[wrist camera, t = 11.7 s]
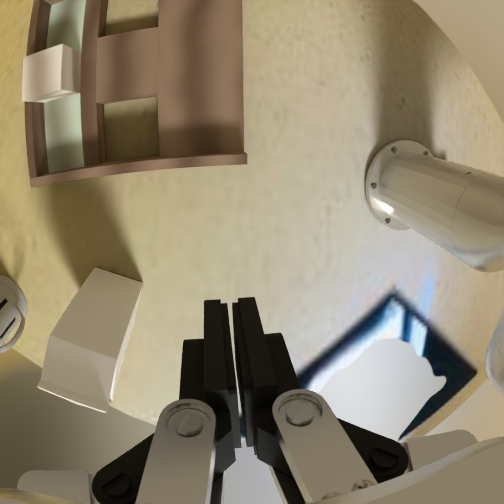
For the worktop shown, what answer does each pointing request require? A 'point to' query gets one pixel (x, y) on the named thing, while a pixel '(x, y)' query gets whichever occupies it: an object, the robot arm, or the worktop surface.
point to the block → (51, 74)
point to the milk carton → (91, 340)
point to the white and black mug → (11, 311)
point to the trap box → (140, 87)
